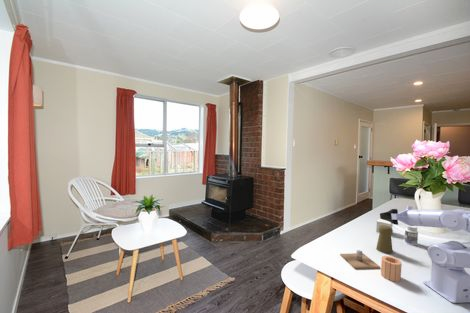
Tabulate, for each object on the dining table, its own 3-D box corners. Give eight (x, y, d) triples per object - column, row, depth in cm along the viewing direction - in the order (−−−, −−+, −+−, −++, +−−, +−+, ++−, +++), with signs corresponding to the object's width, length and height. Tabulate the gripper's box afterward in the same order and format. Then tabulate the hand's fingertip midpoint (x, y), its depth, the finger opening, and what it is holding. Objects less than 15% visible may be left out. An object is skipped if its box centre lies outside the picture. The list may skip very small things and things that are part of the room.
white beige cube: (376, 232, 115) (376, 221, 115) (378, 229, 119) (379, 218, 119) (389, 235, 111) (390, 224, 110) (392, 232, 115) (392, 221, 115)
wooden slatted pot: (404, 281, 74) (405, 264, 73) (389, 281, 73) (390, 264, 73) (391, 271, 79) (392, 255, 79) (377, 271, 79) (378, 256, 79)
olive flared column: (395, 254, 92) (397, 229, 91) (379, 253, 93) (381, 228, 92) (388, 247, 97) (389, 224, 97) (373, 246, 99) (375, 223, 98)
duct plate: (380, 268, 81) (380, 257, 81) (354, 269, 81) (355, 258, 80) (362, 254, 91) (363, 245, 91) (340, 255, 91) (340, 245, 90)
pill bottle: (404, 239, 106) (405, 223, 105) (417, 242, 103) (418, 225, 102) (404, 243, 102) (405, 226, 101) (417, 246, 99) (418, 228, 98)
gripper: (437, 207, 77) (400, 207, 90) (407, 205, 74) (372, 205, 87) (441, 227, 76) (402, 224, 88) (410, 226, 72) (374, 223, 85)
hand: (388, 216), depth 87 cm, fingers open, 7 cm apart
